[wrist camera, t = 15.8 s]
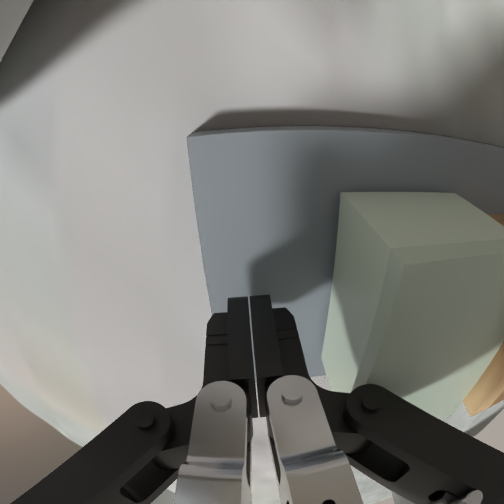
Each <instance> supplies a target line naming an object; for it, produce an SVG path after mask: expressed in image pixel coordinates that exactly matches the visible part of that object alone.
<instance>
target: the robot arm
mask: <svg viewBox="0 0 504 504" xmlns="http://www.w3.org/2000/svg"><path fill="white" fill-rule="evenodd" d="M249 297H250V310H251V324H252V336H253V347H254V358H255V369H256V380H257V391H258V401H259V412H260V417H266V418H267V427H268V440H269V445H270V449H271V454H272V459H273V464H274V469H275V473H276V478H277V483H278V489H279V496H280V502H281V504H363V501H362V498H361V495H360V492H359V489H358V486H357V484H356V481H355V478H354V475H353V472H352V469H351V466H350V465H352V466H353V467H355V468H356V469H358V470H359V471H361V472H362V473H364V474H365V475H367V476H368V477H370V478H372V479H373V480H375V481H376V482H378V483H380V484H381V485H383V486H384V487H386V488H388V489H389V490H391V491H392V495H393V498H394V502H395V504H504V453H503V452H501V451H499V450H497V449H495V448H493V447H491V446H489V445H487V444H485V443H483V442H481V441H479V440H477V439H475V438H473V437H471V436H469V435H468V434H466V433H464V432H462V431H460V430H458V429H456V428H454V427H452V426H451V425H449V424H447V423H445V422H443V421H441V420H440V419H438V418H436V417H434V416H432V415H431V414H429V413H427V412H425V411H423V410H422V409H420V408H418V407H416V406H415V405H413V404H411V403H409V402H408V401H406V400H404V399H402V398H401V397H399V396H397V395H396V394H394V393H392V392H390V391H389V390H387V389H385V388H384V387H382V386H379V385H376V384H364V385H361V386H358V387H356V388H355V389H354V390H353V391H351V393H344V392H335V391H328V390H325V389H323V388H321V387H319V386H318V385H316V384H315V383H314V382H313V381H312V380H311V378H310V376H309V374H308V370H307V366H306V362H305V358H304V354H303V350H302V346H301V342H300V339H299V334H298V330H297V326H296V322H295V318H294V316H293V315H292V314H291V313H290V311H289V310H288V309H287V308H286V307H283V308H272V304H271V298H270V294H268V295H256V296H249ZM206 336H207V337H206V348H205V364H204V381H203V386H202V389H201V390H200V392H199V393H198V395H197V396H196V397H194V398H193V399H192V400H190V401H188V402H186V403H184V404H180V405H177V406H173V407H170V408H165V407H163V406H162V405H161V404H159V403H156V402H152V401H144V402H140V403H137V404H135V405H133V406H132V407H131V408H129V409H128V410H127V411H126V412H125V413H124V414H122V415H121V416H120V417H119V418H118V419H116V420H115V421H114V422H113V423H112V424H111V425H109V426H108V427H107V428H106V429H105V430H103V431H102V432H101V433H100V434H99V435H97V436H96V437H95V438H94V439H92V440H91V441H90V442H89V443H88V444H86V445H85V446H84V447H83V448H82V449H80V450H79V451H78V452H77V453H76V454H74V455H73V456H72V457H70V458H69V459H68V460H67V461H65V462H64V463H63V464H62V465H60V466H59V467H58V468H57V469H55V470H54V471H53V472H51V473H50V474H49V475H48V476H46V477H45V478H44V479H42V480H41V481H40V482H39V483H37V484H36V485H35V486H33V487H32V488H31V489H30V490H28V491H27V492H25V493H24V494H23V495H21V496H20V497H19V498H17V499H16V500H15V501H13V502H12V503H11V504H150V503H151V502H153V501H154V500H155V499H156V498H157V497H158V496H159V495H160V494H161V493H162V492H163V491H164V490H165V489H167V488H168V487H169V486H170V485H171V484H172V483H173V482H174V481H175V480H176V479H177V484H176V491H175V499H174V504H252V494H251V466H252V437H253V424H252V418H257V417H258V410H257V398H256V386H255V374H254V363H253V351H252V340H251V328H250V316H249V304H248V296H244V297H231V298H228V300H227V312H222V313H214V314H213V315H212V317H211V318H210V320H209V321H208V323H207V334H206Z"/></svg>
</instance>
